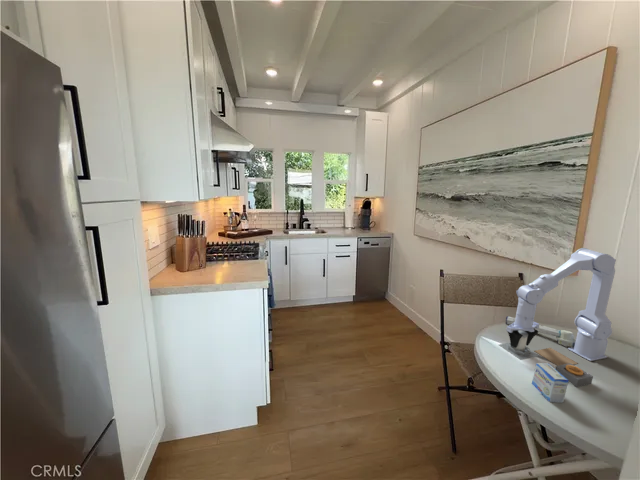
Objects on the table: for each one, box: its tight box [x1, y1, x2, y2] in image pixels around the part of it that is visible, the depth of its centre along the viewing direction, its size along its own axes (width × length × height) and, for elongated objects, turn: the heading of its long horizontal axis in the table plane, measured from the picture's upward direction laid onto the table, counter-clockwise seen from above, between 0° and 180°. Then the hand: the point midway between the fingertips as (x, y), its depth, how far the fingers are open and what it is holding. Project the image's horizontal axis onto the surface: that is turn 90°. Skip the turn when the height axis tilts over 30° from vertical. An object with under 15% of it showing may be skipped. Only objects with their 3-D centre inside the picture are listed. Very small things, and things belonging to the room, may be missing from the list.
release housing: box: [554, 363, 594, 388], centre depth 94 cm, size 7×7×3 cm
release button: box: [565, 365, 584, 376], centre depth 94 cm, size 5×5×4 cm
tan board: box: [533, 347, 579, 366], centre depth 105 cm, size 9×10×1 cm
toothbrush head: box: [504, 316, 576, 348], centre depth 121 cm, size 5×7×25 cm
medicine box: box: [531, 362, 570, 404], centre depth 87 cm, size 8×4×9 cm, turn 178°
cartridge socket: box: [498, 342, 541, 361], centre depth 110 cm, size 10×10×2 cm
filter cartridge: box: [513, 330, 528, 352], centre depth 109 cm, size 4×4×8 cm
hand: (519, 345), depth 109 cm, fingers open, 5 cm apart
